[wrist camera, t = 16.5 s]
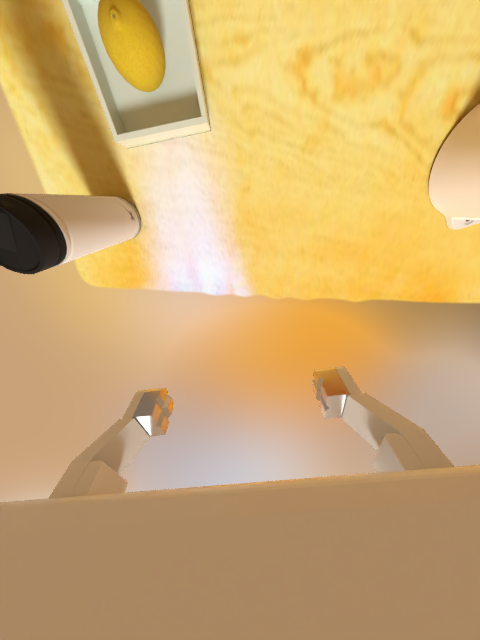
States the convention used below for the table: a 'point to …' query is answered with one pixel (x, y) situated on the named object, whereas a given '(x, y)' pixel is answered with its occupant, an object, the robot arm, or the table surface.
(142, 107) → the bin
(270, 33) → the table surface
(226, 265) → the table surface
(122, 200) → the travel mug
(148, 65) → the lemon
